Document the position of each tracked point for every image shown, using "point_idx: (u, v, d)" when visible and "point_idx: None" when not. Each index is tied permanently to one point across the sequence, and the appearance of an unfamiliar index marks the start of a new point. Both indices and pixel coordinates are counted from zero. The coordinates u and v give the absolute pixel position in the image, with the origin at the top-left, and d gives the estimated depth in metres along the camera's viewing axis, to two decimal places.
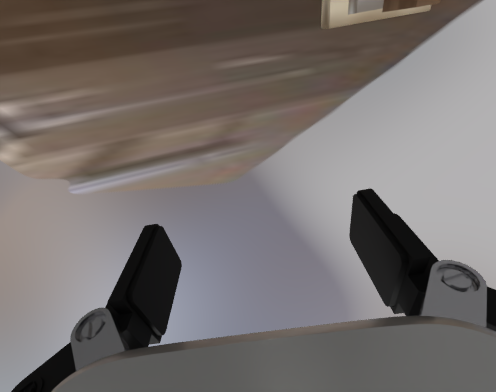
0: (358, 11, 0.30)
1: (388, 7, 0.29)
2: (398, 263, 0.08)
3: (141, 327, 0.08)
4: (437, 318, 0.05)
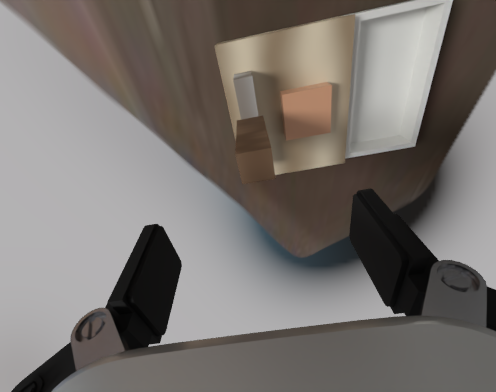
0: (235, 82, 0.19)
1: (241, 124, 0.20)
2: (398, 263, 0.08)
3: (141, 327, 0.08)
4: (437, 318, 0.05)
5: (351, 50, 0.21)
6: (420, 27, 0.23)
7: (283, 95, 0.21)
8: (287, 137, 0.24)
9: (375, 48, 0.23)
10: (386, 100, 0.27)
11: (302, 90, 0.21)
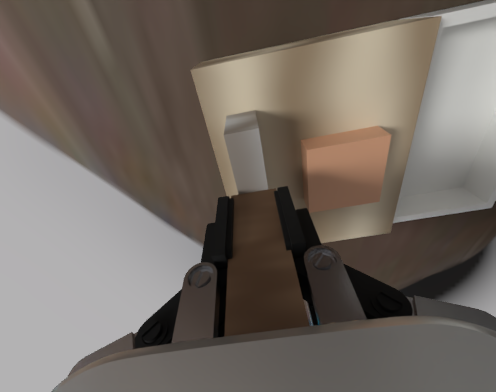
0: (227, 138, 0.11)
1: (238, 211, 0.11)
2: None
3: None
4: (437, 318, 0.05)
5: (424, 76, 0.12)
6: None
7: (308, 151, 0.13)
8: (311, 208, 0.15)
9: (447, 69, 0.15)
10: (451, 143, 0.18)
11: (340, 142, 0.13)
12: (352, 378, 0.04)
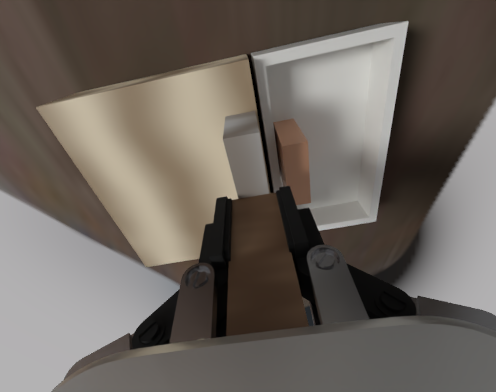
0: (226, 143, 0.10)
1: (238, 217, 0.11)
2: (289, 248, 0.09)
3: None
4: (437, 318, 0.05)
5: (256, 109, 0.14)
6: (367, 68, 0.15)
7: (307, 141, 0.14)
8: None
9: (306, 97, 0.16)
10: (333, 161, 0.19)
11: (298, 131, 0.15)
12: (352, 378, 0.04)
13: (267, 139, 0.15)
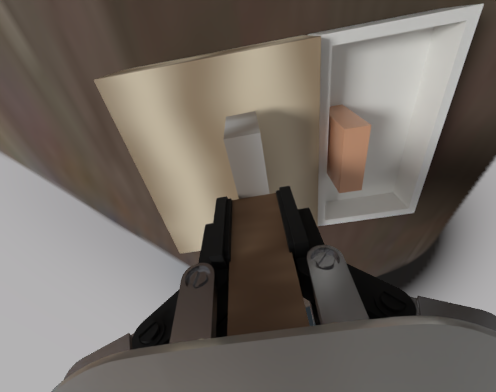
0: (227, 143, 0.10)
1: (238, 217, 0.11)
2: (289, 248, 0.09)
3: None
4: (437, 318, 0.05)
5: (319, 90, 0.13)
6: (424, 54, 0.15)
7: (370, 125, 0.13)
8: None
9: (358, 82, 0.16)
10: (375, 151, 0.19)
11: (354, 115, 0.15)
12: (352, 378, 0.04)
13: (321, 123, 0.15)
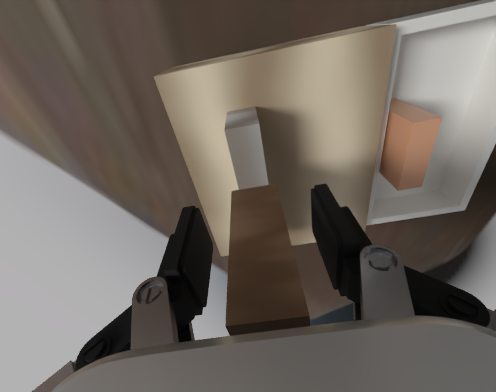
0: (228, 134, 0.11)
1: (238, 205, 0.11)
2: (336, 248, 0.08)
3: (189, 297, 0.09)
4: (437, 318, 0.05)
5: (385, 82, 0.13)
6: (487, 43, 0.14)
7: (440, 118, 0.13)
8: None
9: (415, 75, 0.15)
10: None
11: (416, 109, 0.14)
12: (352, 378, 0.04)
13: None
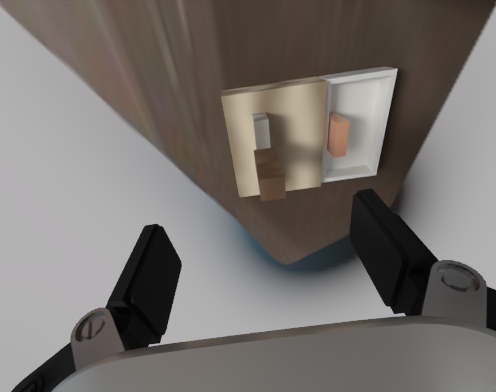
0: (255, 123, 0.25)
1: (257, 154, 0.26)
2: (398, 263, 0.08)
3: (141, 327, 0.08)
4: (437, 318, 0.05)
5: (324, 104, 0.28)
6: (376, 87, 0.30)
7: (348, 121, 0.28)
8: None
9: (344, 100, 0.31)
10: (353, 138, 0.34)
11: (341, 117, 0.29)
12: (352, 378, 0.04)
13: (324, 121, 0.30)
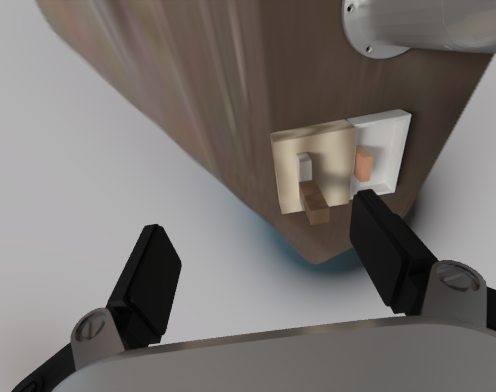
0: (301, 163, 0.33)
1: (303, 186, 0.34)
2: (398, 263, 0.08)
3: (141, 327, 0.08)
4: (437, 318, 0.05)
5: (353, 143, 0.35)
6: (394, 125, 0.37)
7: (372, 156, 0.35)
8: (369, 178, 0.38)
9: (367, 136, 0.38)
10: (375, 163, 0.41)
11: (366, 151, 0.37)
12: (352, 378, 0.04)
13: None
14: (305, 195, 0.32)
